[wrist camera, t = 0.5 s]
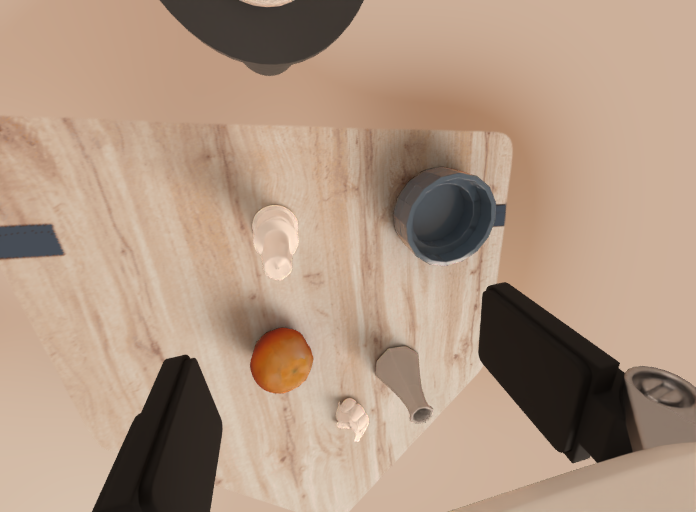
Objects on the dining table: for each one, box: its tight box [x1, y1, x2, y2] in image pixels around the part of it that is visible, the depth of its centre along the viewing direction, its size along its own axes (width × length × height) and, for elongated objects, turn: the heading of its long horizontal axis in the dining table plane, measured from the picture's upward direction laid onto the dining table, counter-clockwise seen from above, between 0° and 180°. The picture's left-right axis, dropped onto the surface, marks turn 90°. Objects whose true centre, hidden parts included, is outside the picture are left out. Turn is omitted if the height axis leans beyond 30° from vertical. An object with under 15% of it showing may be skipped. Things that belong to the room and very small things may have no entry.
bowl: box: [393, 166, 496, 266], centre depth 40 cm, size 11×11×5 cm
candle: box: [252, 205, 299, 280], centre depth 33 cm, size 5×5×12 cm
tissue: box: [336, 398, 369, 442], centre depth 52 cm, size 6×8×4 cm
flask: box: [375, 346, 433, 424], centre depth 47 cm, size 7×7×10 cm
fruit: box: [250, 328, 313, 394], centre depth 43 cm, size 8×8×8 cm
